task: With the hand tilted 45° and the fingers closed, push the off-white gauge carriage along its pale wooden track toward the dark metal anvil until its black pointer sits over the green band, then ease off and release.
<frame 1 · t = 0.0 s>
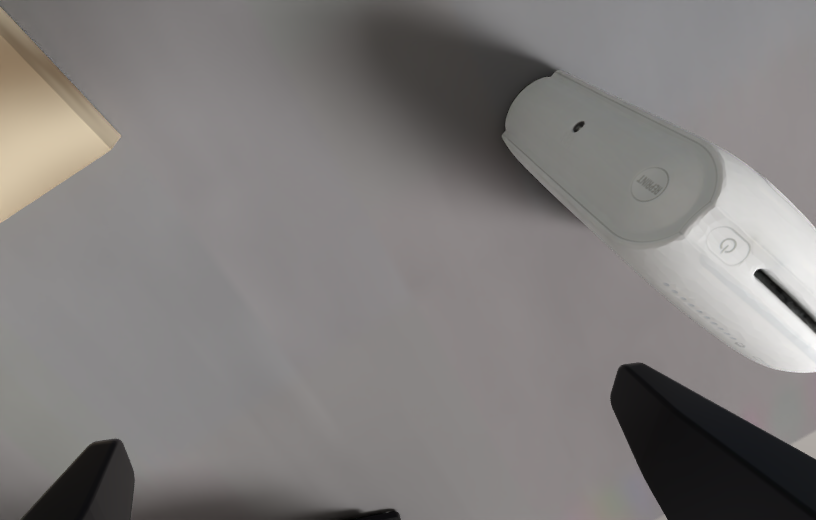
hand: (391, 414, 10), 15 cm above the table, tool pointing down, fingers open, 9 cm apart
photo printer: (585, 156, 25), on the table
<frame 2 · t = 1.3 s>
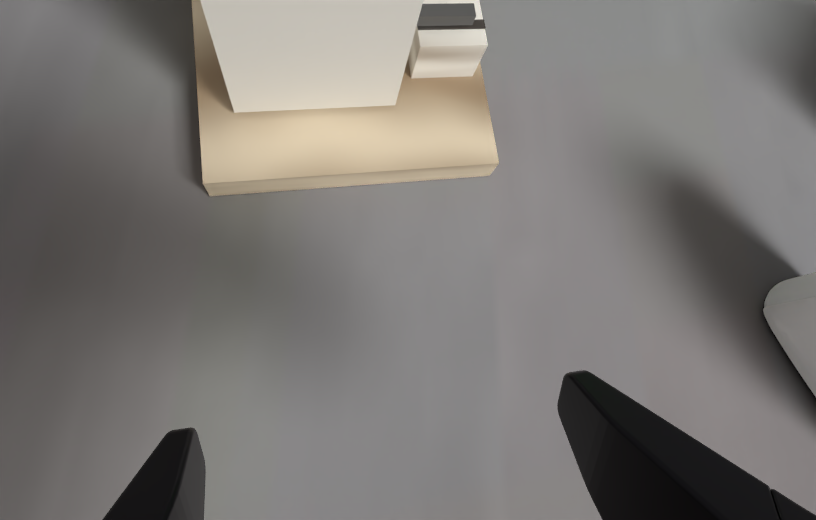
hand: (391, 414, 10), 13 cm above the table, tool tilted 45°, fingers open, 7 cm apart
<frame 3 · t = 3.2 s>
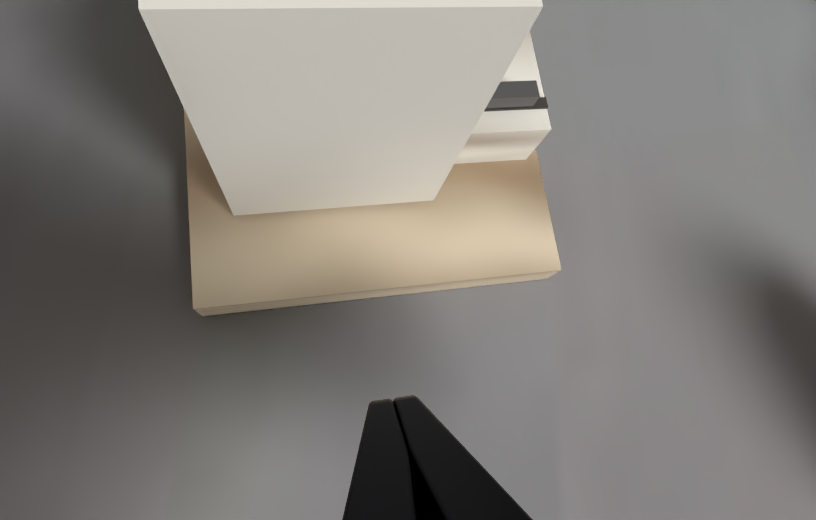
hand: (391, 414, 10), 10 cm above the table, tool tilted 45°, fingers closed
gauge carriage: (386, 18, 15), point 7 cm above the table, slide at 0.0 cm
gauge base: (315, 47, 22), on the table
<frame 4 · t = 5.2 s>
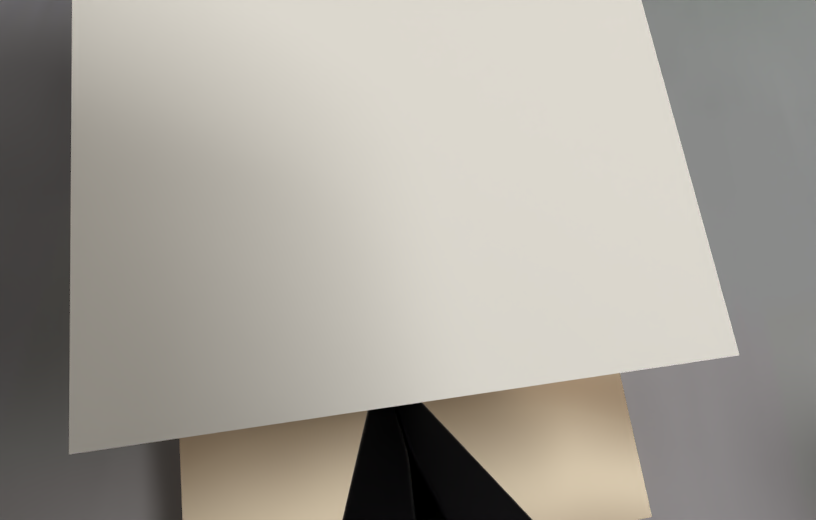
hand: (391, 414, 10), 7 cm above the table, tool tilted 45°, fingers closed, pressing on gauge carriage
gauge carriage: (439, 208, 11), point 7 cm above the table, slide at 1.5 cm, touching gripper
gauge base: (338, 210, 18), on the table
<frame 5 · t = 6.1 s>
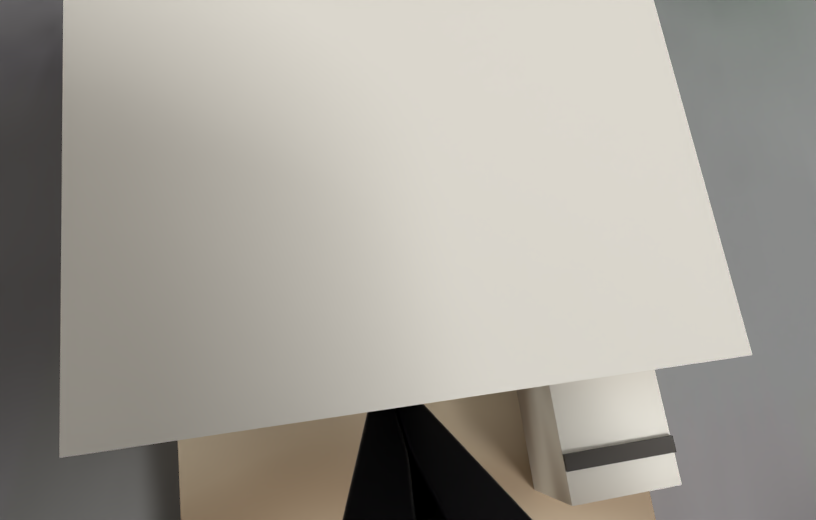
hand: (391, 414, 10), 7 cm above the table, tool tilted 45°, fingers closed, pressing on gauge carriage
gauge carriage: (441, 204, 11), point 7 cm above the table, slide at 4.7 cm, touching gripper
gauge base: (349, 300, 17), on the table
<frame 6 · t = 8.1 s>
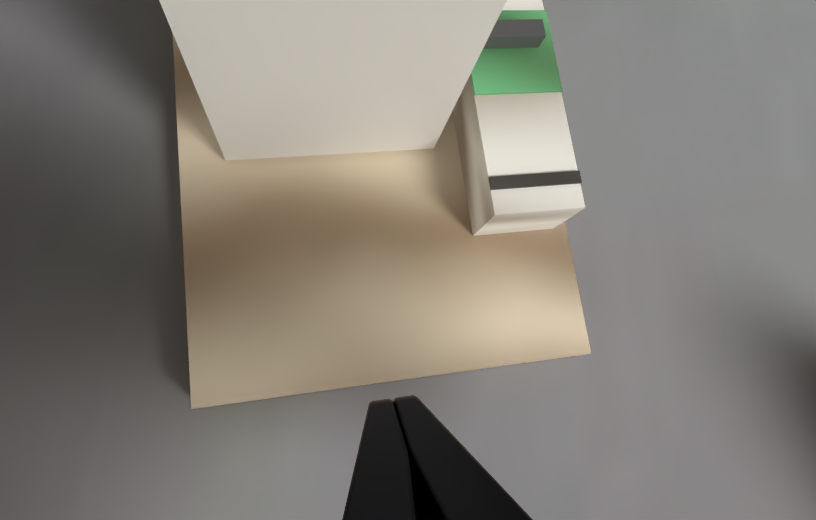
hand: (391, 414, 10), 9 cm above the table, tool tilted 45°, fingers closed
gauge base: (323, 98, 20), on the table
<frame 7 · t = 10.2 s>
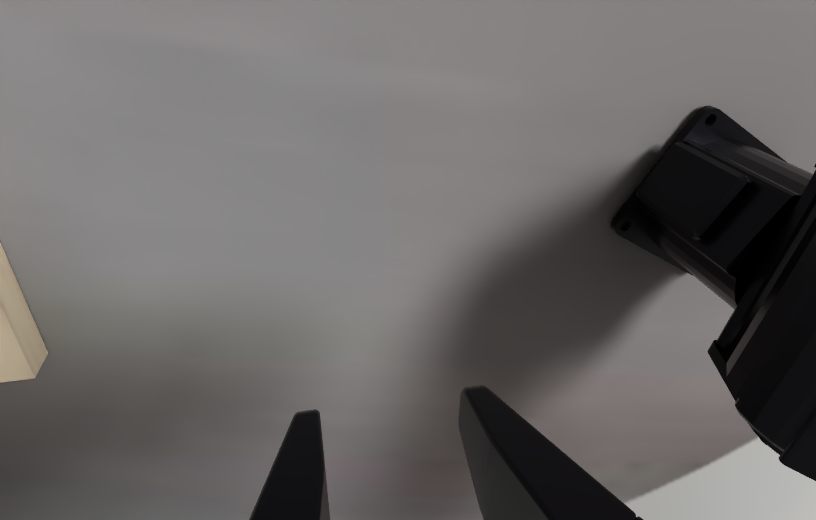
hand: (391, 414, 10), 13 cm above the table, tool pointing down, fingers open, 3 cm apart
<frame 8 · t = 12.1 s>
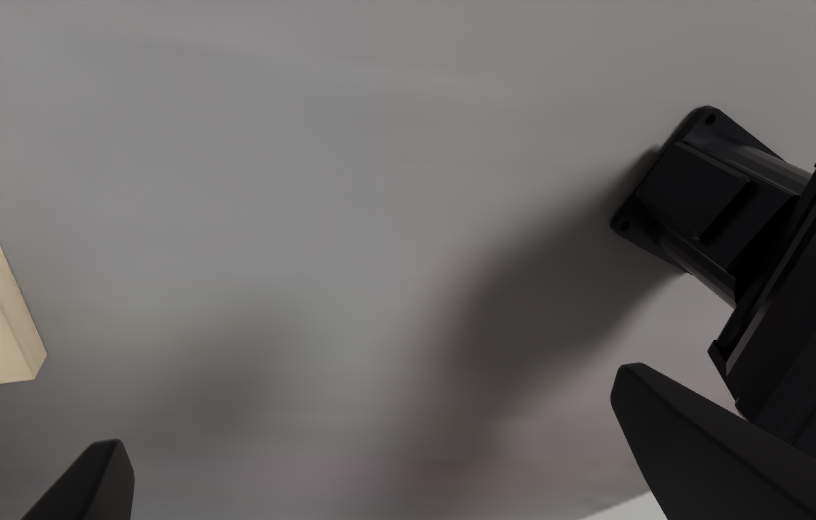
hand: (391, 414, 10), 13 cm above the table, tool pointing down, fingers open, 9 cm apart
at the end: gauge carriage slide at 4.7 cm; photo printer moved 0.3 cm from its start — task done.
